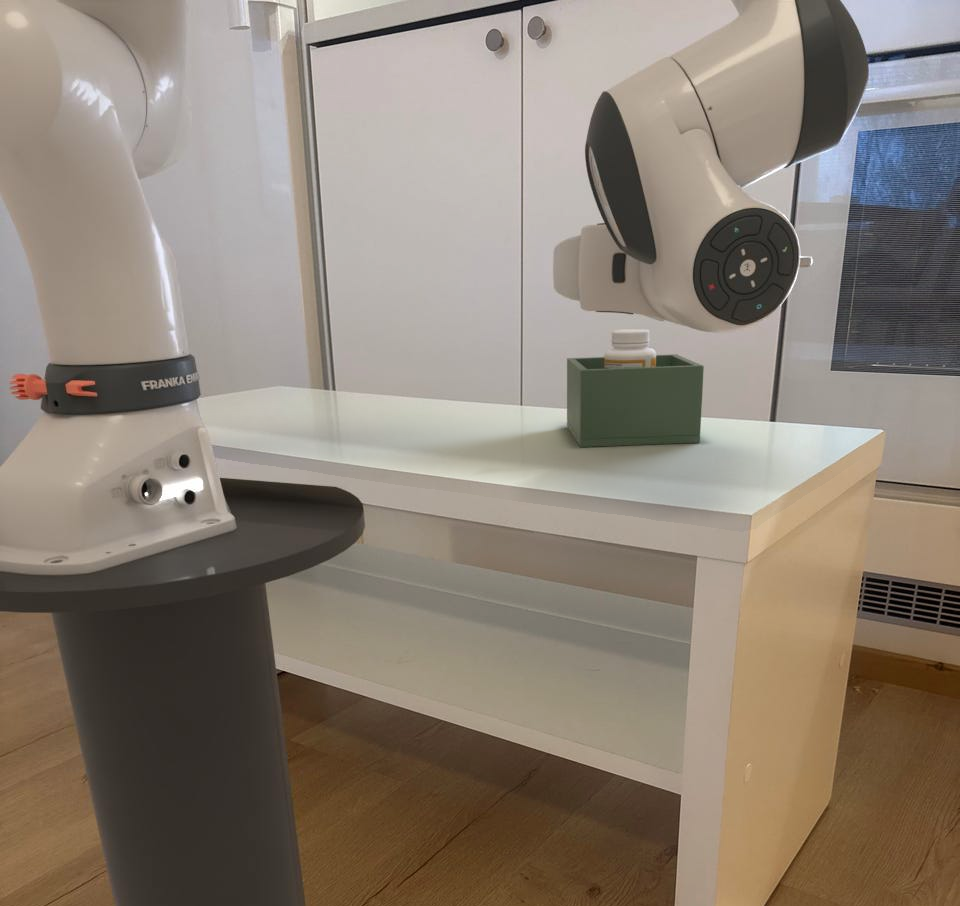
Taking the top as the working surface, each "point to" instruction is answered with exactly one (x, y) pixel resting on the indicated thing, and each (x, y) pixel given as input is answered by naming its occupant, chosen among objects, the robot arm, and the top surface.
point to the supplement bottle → (630, 350)
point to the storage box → (634, 402)
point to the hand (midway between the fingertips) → (655, 264)
